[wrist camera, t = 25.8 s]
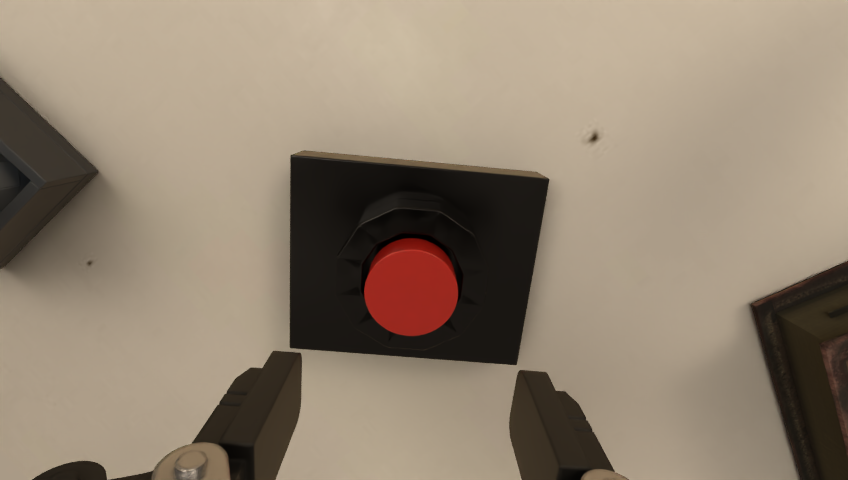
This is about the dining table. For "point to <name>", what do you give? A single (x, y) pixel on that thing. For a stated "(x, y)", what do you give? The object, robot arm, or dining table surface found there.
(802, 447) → the diary
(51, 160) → the tray
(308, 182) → the control block
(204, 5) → the dining table surface
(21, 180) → the tumbler
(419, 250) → the button
